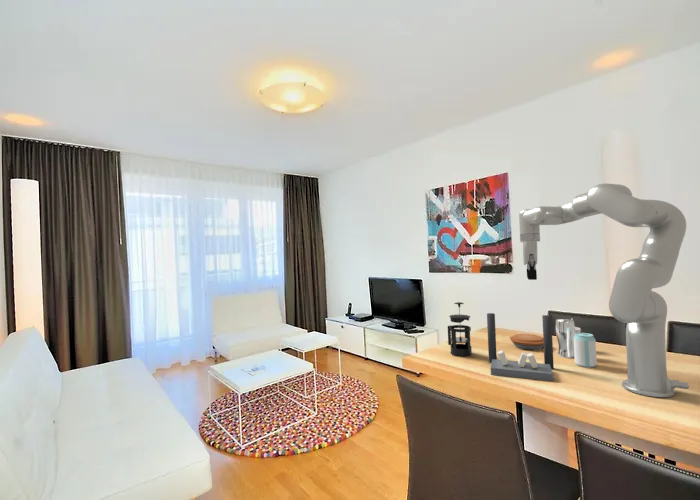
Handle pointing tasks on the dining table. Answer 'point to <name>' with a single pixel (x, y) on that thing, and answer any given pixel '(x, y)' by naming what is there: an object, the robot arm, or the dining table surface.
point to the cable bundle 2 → (548, 340)
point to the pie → (527, 341)
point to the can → (585, 350)
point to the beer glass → (565, 337)
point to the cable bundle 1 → (491, 336)
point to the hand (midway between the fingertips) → (531, 278)
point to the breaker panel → (522, 370)
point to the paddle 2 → (532, 360)
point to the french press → (460, 349)
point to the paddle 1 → (502, 357)
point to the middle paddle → (522, 359)
